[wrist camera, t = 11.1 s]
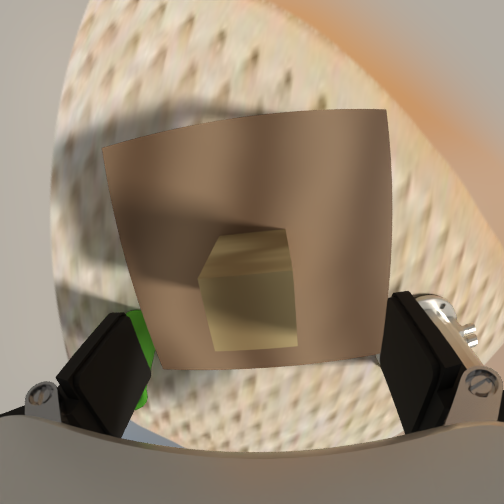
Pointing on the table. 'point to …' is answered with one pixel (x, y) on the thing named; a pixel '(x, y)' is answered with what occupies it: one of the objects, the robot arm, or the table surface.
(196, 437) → the table surface
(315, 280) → the cover
